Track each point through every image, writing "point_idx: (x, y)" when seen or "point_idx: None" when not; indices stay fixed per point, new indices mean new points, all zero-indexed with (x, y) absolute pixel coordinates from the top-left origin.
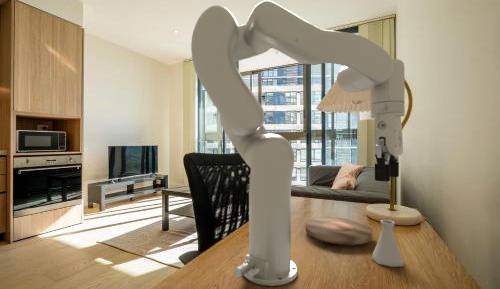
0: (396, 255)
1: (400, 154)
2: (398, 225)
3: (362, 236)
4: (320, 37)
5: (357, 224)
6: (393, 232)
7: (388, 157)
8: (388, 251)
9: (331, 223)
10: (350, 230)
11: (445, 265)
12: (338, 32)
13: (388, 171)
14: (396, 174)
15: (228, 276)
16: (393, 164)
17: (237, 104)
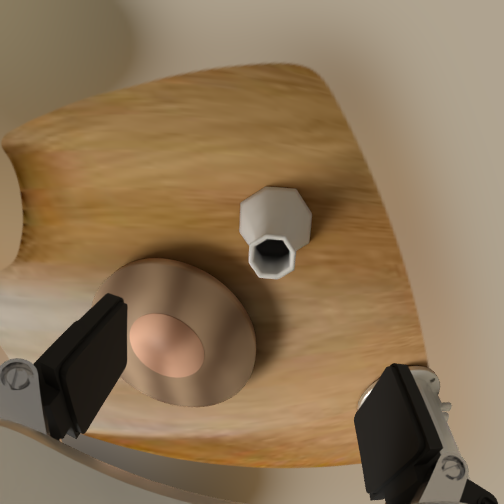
0: (298, 208)
1: (171, 494)
2: (22, 192)
3: (212, 291)
4: None
5: None
6: (280, 229)
7: (449, 500)
8: (302, 230)
9: (154, 360)
10: (179, 319)
11: (234, 93)
12: None
13: (423, 413)
14: (119, 316)
15: None
16: (81, 385)
17: None
